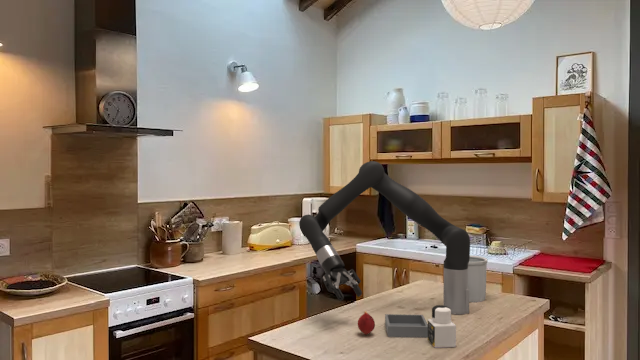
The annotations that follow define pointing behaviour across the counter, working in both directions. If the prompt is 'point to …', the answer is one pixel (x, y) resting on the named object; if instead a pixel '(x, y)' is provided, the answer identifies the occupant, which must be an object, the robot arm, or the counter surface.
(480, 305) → the counter surface
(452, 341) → the medicine bottle
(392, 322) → the slate grey tray
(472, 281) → the utensil holder
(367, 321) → the onion
